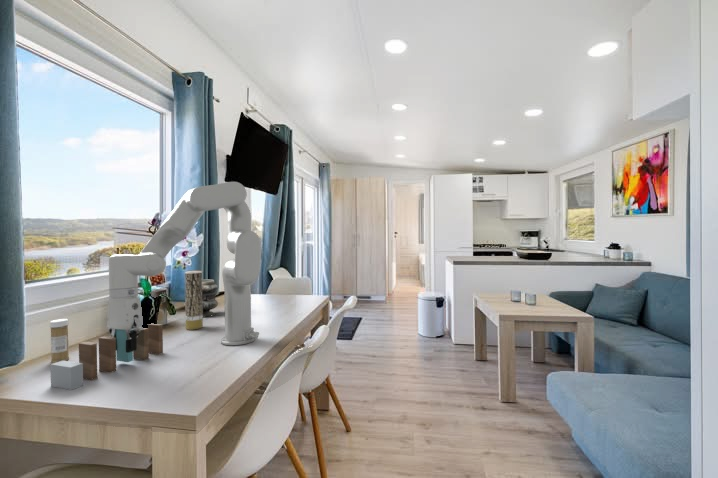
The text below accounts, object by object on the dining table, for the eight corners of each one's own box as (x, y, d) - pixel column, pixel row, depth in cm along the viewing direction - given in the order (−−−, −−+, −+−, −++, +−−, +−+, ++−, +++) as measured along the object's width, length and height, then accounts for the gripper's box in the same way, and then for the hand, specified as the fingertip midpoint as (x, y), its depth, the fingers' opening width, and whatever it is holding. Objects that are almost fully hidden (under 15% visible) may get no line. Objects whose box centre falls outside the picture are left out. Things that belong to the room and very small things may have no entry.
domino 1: (85, 375, 101) (84, 341, 101) (97, 377, 99) (96, 343, 99) (79, 378, 99) (78, 343, 99) (91, 380, 98) (90, 344, 98)
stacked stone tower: (215, 317, 173) (215, 281, 173) (189, 318, 171) (189, 282, 170) (220, 312, 185) (219, 278, 185) (195, 313, 182) (195, 279, 182)
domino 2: (104, 368, 106) (103, 336, 106) (116, 370, 104) (115, 337, 104) (99, 370, 105) (98, 337, 104) (111, 372, 103) (110, 339, 103)
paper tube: (197, 325, 157) (196, 270, 157) (205, 327, 153) (204, 271, 153) (182, 328, 152) (181, 271, 151) (190, 331, 148) (189, 272, 147)
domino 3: (121, 358, 111) (121, 327, 111) (132, 360, 110) (132, 329, 110) (116, 360, 110) (116, 329, 110) (128, 362, 108) (127, 330, 108)
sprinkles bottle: (70, 357, 117) (70, 317, 116) (66, 361, 113) (65, 320, 112) (53, 359, 115) (52, 319, 114) (48, 364, 111) (47, 322, 110)
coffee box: (156, 323, 162) (155, 289, 162) (167, 323, 161) (167, 289, 161) (139, 328, 153) (139, 292, 153) (152, 329, 152) (151, 292, 152)
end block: (83, 385, 94) (82, 363, 94) (71, 390, 91) (70, 367, 91) (63, 381, 97) (62, 360, 97) (50, 386, 94) (50, 364, 94)
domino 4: (137, 356, 117) (137, 327, 116) (148, 358, 115) (148, 328, 115) (133, 358, 115) (132, 328, 115) (144, 359, 113) (143, 329, 113)
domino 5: (152, 351, 122) (151, 323, 122) (163, 352, 120) (162, 324, 120) (148, 353, 120) (147, 324, 120) (159, 354, 119) (158, 325, 119)
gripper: (154, 292, 110) (155, 349, 111) (116, 290, 116) (116, 344, 116) (132, 296, 103) (133, 357, 103) (92, 293, 109) (93, 351, 109)
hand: (124, 349), depth 110 cm, fingers closed on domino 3, 4 cm apart
